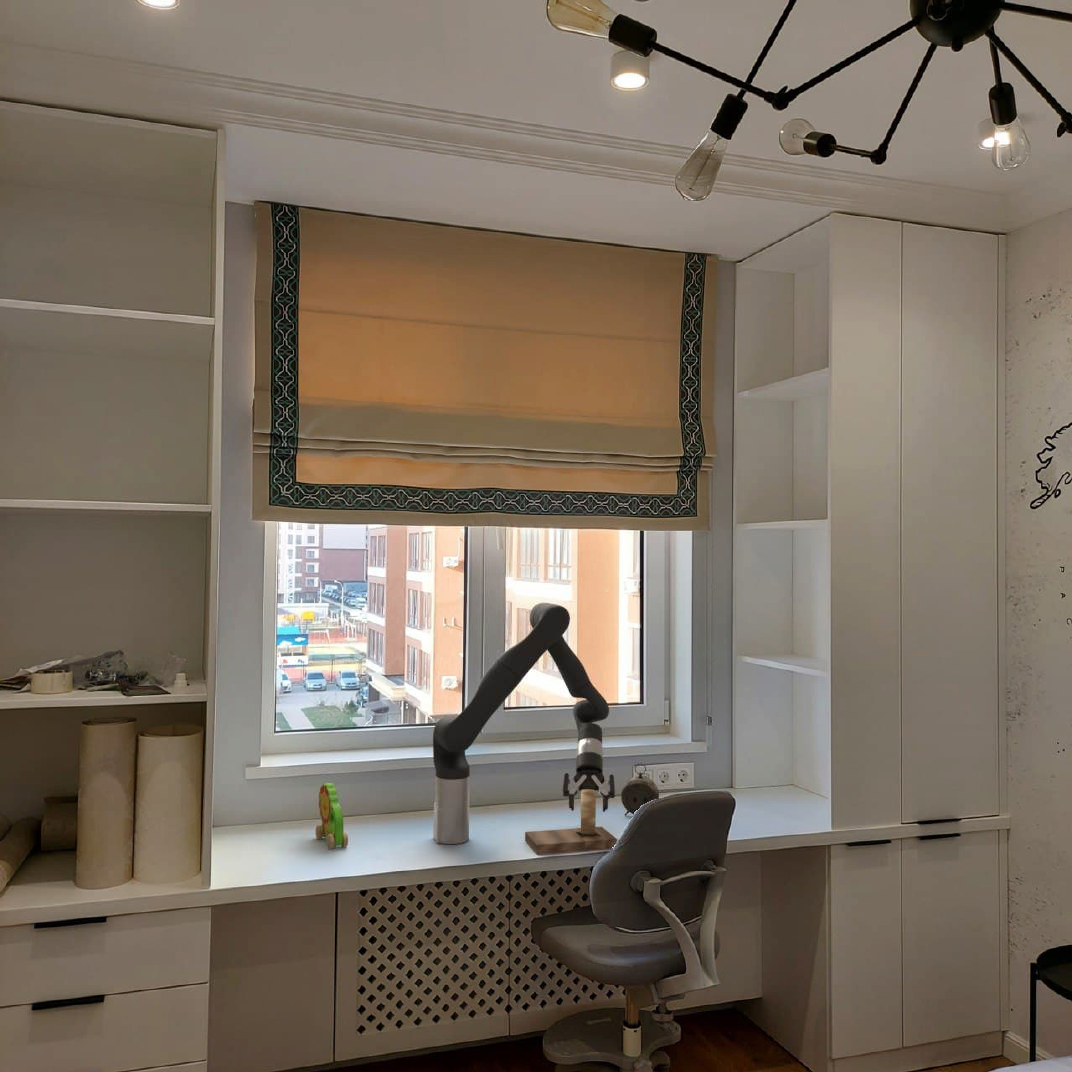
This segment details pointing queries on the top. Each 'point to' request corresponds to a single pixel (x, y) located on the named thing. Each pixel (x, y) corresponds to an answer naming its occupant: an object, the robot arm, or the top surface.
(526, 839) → the walnut board
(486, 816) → the top surface
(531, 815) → the top surface
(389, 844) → the top surface
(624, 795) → the alarm clock
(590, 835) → the oak peg
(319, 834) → the toy lion
